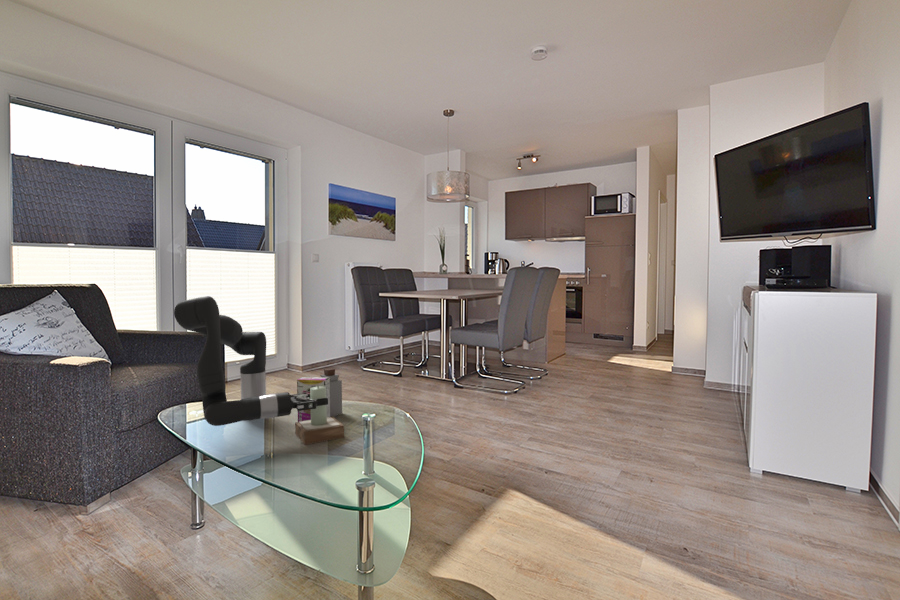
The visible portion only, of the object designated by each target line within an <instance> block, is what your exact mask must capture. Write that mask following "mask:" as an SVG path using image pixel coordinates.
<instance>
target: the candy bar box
mask: <svg viewBox="0 0 900 600" xmlns="http://www.w3.org/2000/svg"><path fill="white" fill-rule="evenodd" d="M318 386H323V387H326V398H328V404H327V405H326V409H327V417H330V378H327V377H321V376H320V377H317V376H316V377H315V376H302V377H299V378H298V379H296V389H297V390H296V391H297V393H296V394H300V393H306V394H307V393H308V394H309V395H310V388H312V387H318ZM307 420H311V409H310V410H302V411H297V422H300V421H307Z"/></svg>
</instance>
